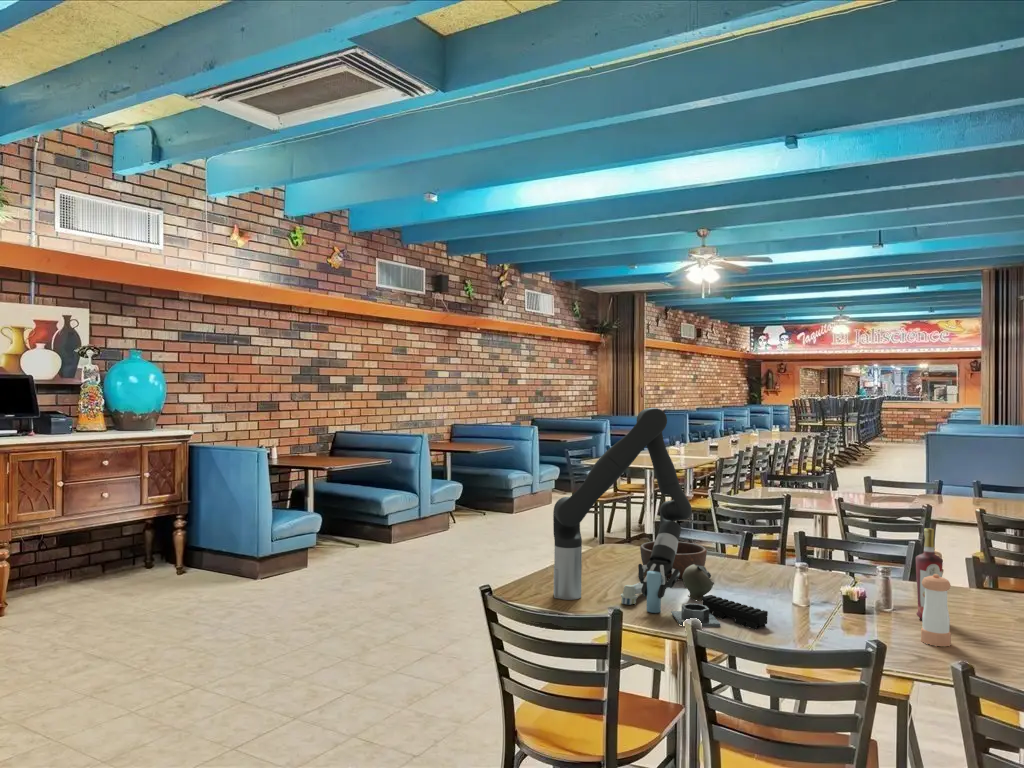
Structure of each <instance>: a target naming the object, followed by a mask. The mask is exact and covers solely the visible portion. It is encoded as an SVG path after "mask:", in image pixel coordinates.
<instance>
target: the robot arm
mask: <svg viewBox="0 0 1024 768" xmlns="http://www.w3.org/2000/svg"><path fill="white" fill-rule="evenodd" d="M667 417H668V416H667V414H666V412H665V411H663V409H660V408H658V407H648V408H644V409H642V410H641V411H640V412H639V413H638V414H637V417H636V423H635V424H634V425H633V427H632V428H631V429H630V431H628V433H627V434H626V435H625V436H623V437H622V438H621V439H620V440H618V441H617V442H615V443H614V444H613V445H612V446H610V447H609V448H608V449H607V450H606V451H605V452H604V453H603V454H602V455H601V456H600V457H599V459H598V460H596V462H595V463H594V464H593V466H592V467H591V469H590V471H589V473H588V474H587V476H586V478H585V479H584V482H582V484H581V485H580V486H579V487H578V489H577V490H576V491H575V492H574V493H573V494H572V495H571V496H563V497H561V498H559V499H558V500H557V501H556V502H555V504H554V506H553V515H552V517H553V519H552V520H553V527H552V528H553V537H554V538H553V539H554V553H553V554H554V555H553V556H554V557H553V559H554V564H553V597H554V599H559V600H569V601H571V600H572V601H573V600H578V599H580V598H581V597H582V570H583V569H582V561H583V560H582V559H583V557H582V554H583V553H582V552H583V551H582V550H583V549H582V547H583V544H582V543H583V540H582V534H581V522H583V520H584V519H585V517H586V516H587V514H588V513H589V512H590V510H591V509H592V508H593V506H594V505H595V503H596V502H597V501H598V500H599V499H600V498H601V497H603V495H604V494H605V493H606V492H607V491H608V490H609V489H610V488H611V487H612V485H614V484H615V483H616V482H617V481H618V480H619V478H620V477H622V476H623V474H624V473H625V472H626V471H627V469H628V468H629V467H630V466H631V464H632V463H633V462H634V461H635V460H636V459H637V457H638V456H639V455H640V454H641V452H642V451H643V450H644V449H645V448H647V451H648V454H649V457H650V460H651V464H652V467H653V470H654V475H655V478H656V482H657V486H658V489H659V492H660V494H662V495H667V496H670V497H671V498H672V500H671V499H670V500H666V501H663V502H662V504H661V505H660V507H659V530H658V532H657V536H656V538H655V540H654V541H655V543H654V546H653V550H652V553H651V557H650V561H649V562H648V563H647V565H643V563H639V564H638V565H637V566H638V567H637V568H638V571H637V572H638V580H639V583H641V584H643V586H642V590H641V591H642V593H641V594H642V595H643V597H647V575H645V572H646V569H648V571H658V572H661V585H660V588H659V592H658V598H659V599H661V600H662V599H663V597H665V593H666V590H667V588H669V589H673V588H674V586H675V584H676V583H677V581H678V580H677V579H678V578H679V576H680V572H679V570H678V569H673V568H672V566H673V563H674V559H675V555H676V553H677V547H678V541H679V540H680V537H681V532H682V527H681V525H680V524H679V523H678V522H679V521H684V520H685V521H686V520H688V519H689V518H691V516H692V512H693V511H692V506H691V505H692V504H691V503H690V501H689V499H688V497H687V495H686V494H685V492H684V490H683V489H682V487H681V485H680V481H679V478H678V474H677V471H676V467H675V466H674V462H673V460H672V458H671V456H670V454H669V452H668V449H667V447H666V443H665V441H664V435H663V431H664V430H665V429H666V427H667V423H668V418H667ZM679 542H680V541H679ZM670 573H672V576H671V577H670V579H667V578H666V577H667V576H668V575H669V574H670Z"/></svg>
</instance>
